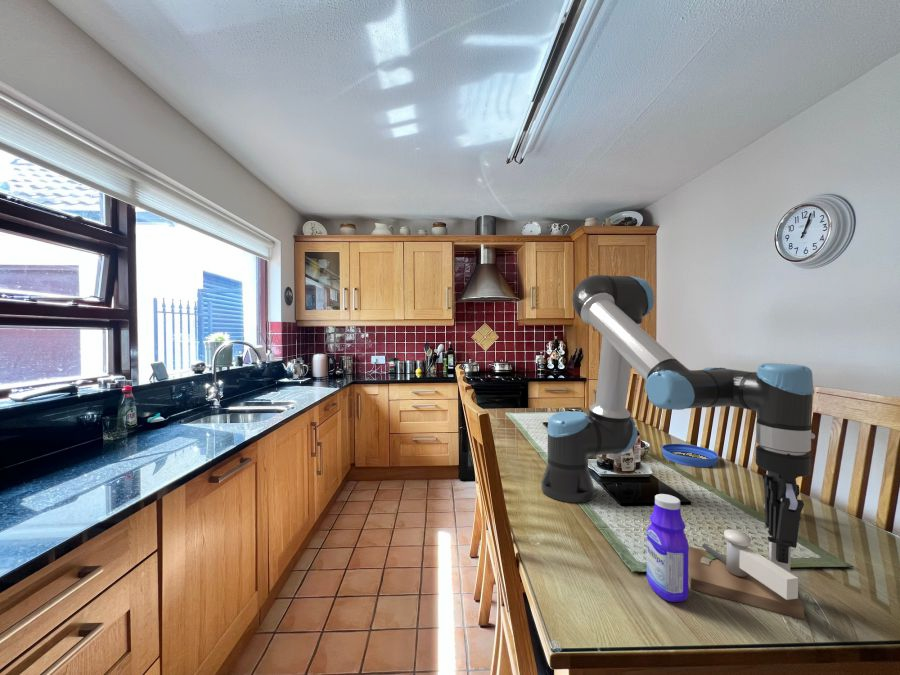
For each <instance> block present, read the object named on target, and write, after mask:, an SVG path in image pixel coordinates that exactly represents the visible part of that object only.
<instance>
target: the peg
mask: <svg viewBox="0 0 900 675" xmlns="http://www.w3.org/2000/svg"><path fill="white" fill-rule="evenodd" d="M723 537H724V539H725V541H726V554H725V555H726V558H725V557H724V556H722V555H721V554H722V553H719V552H718V551H717V550H715V549H713V548H712V547H711V546H709V545H707V544H705V543H702V544H701V546H702V548H703V550H706V551H709V552H710V553H712V554H713V555H714V556H716V557H717V558H719V559H720V560H722V561H723V562H725V563H726V569H727V570H728V571H729V572H730V573H732V574H734V575H737V576H741V577H745V576H747V573H748V574H749V575H751V576H752V577H754V578H755V579H757V580H758V581H760V582H761V583H763V584H764V585H766V586H767V587H769V588H770V589H771V590H773V591H774V592H776V593H777V594H779V595H780V596H782V597H783V598H785V599H786V600H789V599H797V598H799V577H797V576H796V575H794V574H793V573H791V572H790V573H789V572H787V571H786V570H784V569H783V568H781V567H779V566H778V565H776V564H774V563H773V562H771V561H769V558H766V557H764V556H762V555H761V554H760V553H759V552H756V551H755V550H753V549H751V548H748V547H750V546H751V545H752V544H751V540H752V538H751V536H750V535H748V534H746V533H745V532H742V531H740V530H735V529H725V530H724V532H723Z"/></svg>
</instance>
